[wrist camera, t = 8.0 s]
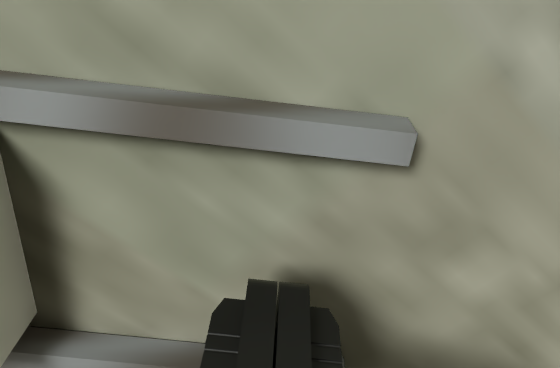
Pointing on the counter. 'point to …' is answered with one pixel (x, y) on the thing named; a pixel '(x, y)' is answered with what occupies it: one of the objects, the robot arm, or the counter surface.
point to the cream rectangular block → (12, 276)
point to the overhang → (191, 128)
